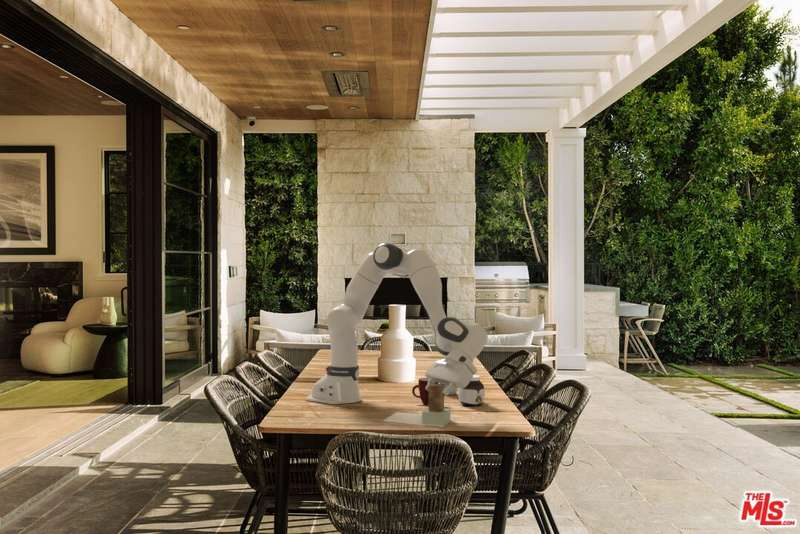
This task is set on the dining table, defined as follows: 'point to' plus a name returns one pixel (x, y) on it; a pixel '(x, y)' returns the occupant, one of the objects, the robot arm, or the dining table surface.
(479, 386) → the spread jar
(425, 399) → the mug
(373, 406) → the dining table surface
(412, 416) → the tile
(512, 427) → the dining table surface
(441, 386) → the pillar
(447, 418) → the base block
